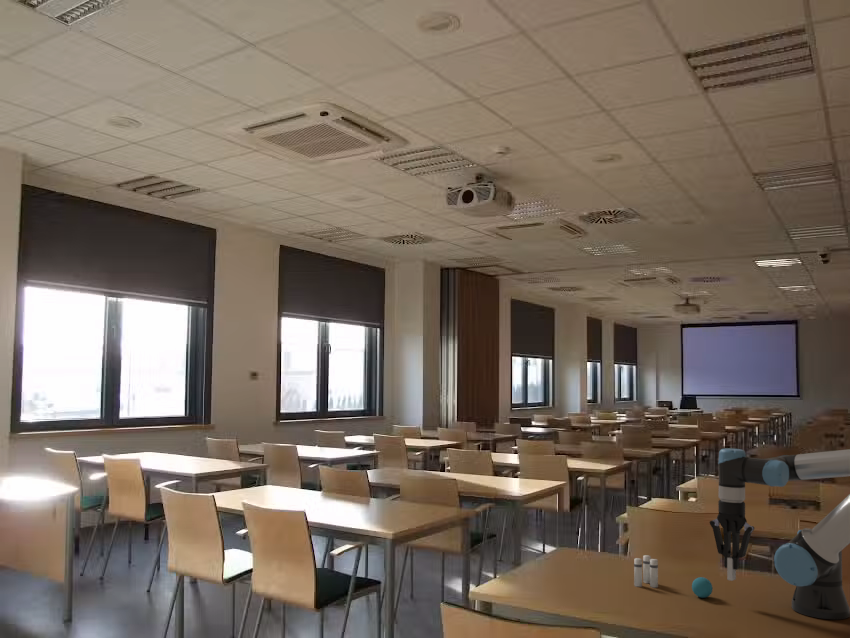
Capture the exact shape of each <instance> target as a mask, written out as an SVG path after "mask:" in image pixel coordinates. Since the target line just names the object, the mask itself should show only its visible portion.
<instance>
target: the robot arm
mask: <svg viewBox="0 0 850 638" xmlns="http://www.w3.org/2000/svg"><path fill="white" fill-rule="evenodd" d="M717 464H718V493H717V496H718V502H717V503H718V508H717V510H718V515H717V516H716V518H715V519H713V520H710V521H709V525H710V527H711V528H712V532H713V536H714V539H715V547H716V548H717V553H718V554H719V555H722V556H723V558H724V559H723V561H724V564H723V566H724V568H726V571H727V573H726V577H727V581H732V582H733V581H735V580H737V576H736V575H737V573H736V570H738V569H739V568H740V559H741V558H745V557H746V555H747V551H748V547H749V545H750V544H749V543H750V539H751V535H752V533H753V532H754V530H755V526H753V525H750V524H749V523H748V521H747V519H746V503H745V500H746V483H748V484H755V485H757V484H758V485H764V486H769V487H780V488H781V487H783V488H784V487H785V486H786V485H787V484H788V482H792V481H803V480H814V479H815V480H816V479H818V480H819V479H830V478H842V477H843V478H844V477H850V448H849V449H840V450H838V449H837V450H829V451H819V452H818V451H817V452H810V453H800V454H799V453H798V454H790V455H788V454H786V455H785V454H784V455H778V456H776V457H768V458H758V457H749V456H747V455H746V451H745V450H743V449H739V448H731V447H729V448H728V447H727V448H726V447H725V448H721V449H720V450H719V452H718V462H717ZM720 525H721V527H722V531H721V527H720ZM742 529H743V530H744V532H743V536H742V539H741V544H740V534H741V530H742ZM722 534H723V536H722ZM849 545H850V493H849V494H848V495H847V496H846V497H845V498H843V500H842V501H841V502H840V503H838V504H837V506H835V507H834V508H833V509H832V510H831V511H830V512H829V513H828V514H827V515H826V516H825V517H823V518H822V519H821V520H820V521H819V522H818V523H817V524H816V525H815V526H813V528H807V527H805V528H802V529H799V530H798V531H797V534H795V536H793V538H792V539H790V540H789V541H788V542H787V543H783V544H781V545H780V546H779V547H778V548H777V549H776V551H775V553H774V556H773V560H774V561H773V563H774V567H775V569H776V572H777V574H778V575H779V576H780V577H781V579H783V581H785V582H786V583H788V584H789V585H792V586H796V587H795V590H794V593H793V595H792V598H791V609H792V610H793V611H794V612H796V613H798V614H801V615H804V616H808V617H812V618H818V619H824V620H846V619H848V618H850V605H849V604H848V601H847V597H846V594H845V592H844V588H843V562H842V561H843V555H842V554H843V552H842V551H843V550H844V549H845V548H847V546H849Z"/></svg>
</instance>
